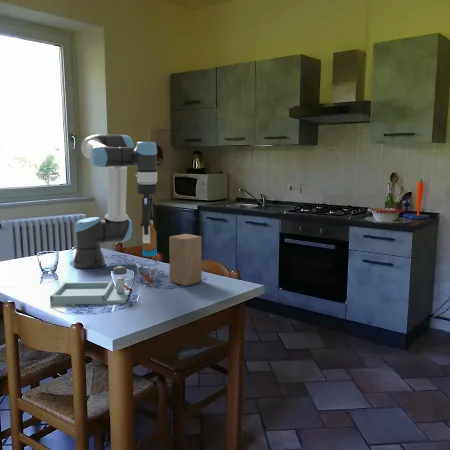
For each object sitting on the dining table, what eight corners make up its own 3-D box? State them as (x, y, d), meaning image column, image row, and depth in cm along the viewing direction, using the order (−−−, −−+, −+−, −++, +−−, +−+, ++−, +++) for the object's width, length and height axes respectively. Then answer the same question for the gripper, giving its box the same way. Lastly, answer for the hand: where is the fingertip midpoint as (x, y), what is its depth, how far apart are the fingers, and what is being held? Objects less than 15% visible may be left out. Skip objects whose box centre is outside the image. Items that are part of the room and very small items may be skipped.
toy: (145, 249, 183) (145, 212, 180) (162, 250, 181) (161, 213, 179) (133, 256, 171) (133, 217, 168) (151, 257, 170) (150, 218, 167)
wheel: (114, 271, 177) (114, 265, 177) (127, 271, 177) (127, 265, 177) (112, 274, 172) (112, 268, 172) (125, 274, 172) (125, 268, 172)
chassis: (64, 290, 183) (63, 273, 182) (131, 289, 185) (131, 272, 184) (50, 304, 165) (49, 286, 164) (125, 303, 167) (124, 285, 166)
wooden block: (169, 281, 196) (168, 236, 193) (186, 277, 204) (186, 233, 201) (184, 286, 190) (184, 239, 187) (202, 281, 197) (201, 236, 194)
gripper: (140, 181, 183) (141, 234, 186) (133, 185, 159) (134, 246, 163) (159, 181, 183) (160, 233, 187) (154, 185, 160) (155, 246, 163)
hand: (148, 239), depth 175 cm, fingers closed on toy, 11 cm apart
